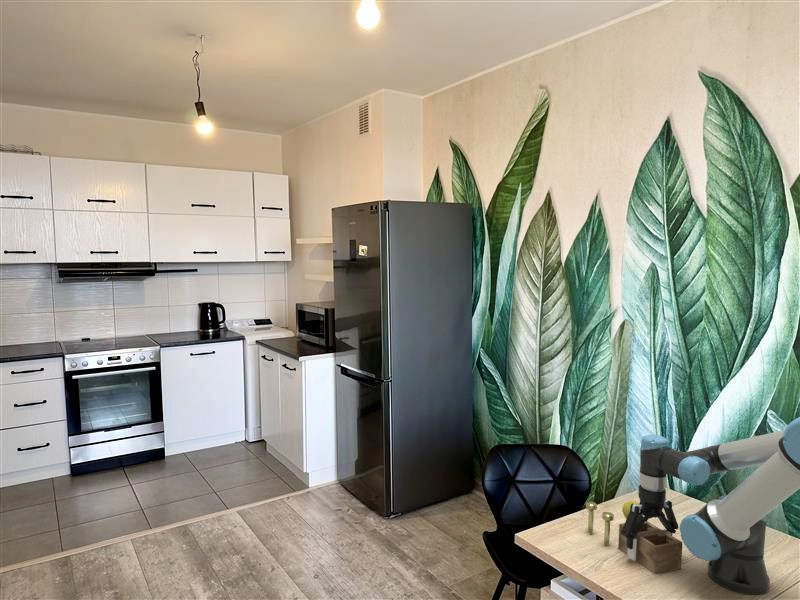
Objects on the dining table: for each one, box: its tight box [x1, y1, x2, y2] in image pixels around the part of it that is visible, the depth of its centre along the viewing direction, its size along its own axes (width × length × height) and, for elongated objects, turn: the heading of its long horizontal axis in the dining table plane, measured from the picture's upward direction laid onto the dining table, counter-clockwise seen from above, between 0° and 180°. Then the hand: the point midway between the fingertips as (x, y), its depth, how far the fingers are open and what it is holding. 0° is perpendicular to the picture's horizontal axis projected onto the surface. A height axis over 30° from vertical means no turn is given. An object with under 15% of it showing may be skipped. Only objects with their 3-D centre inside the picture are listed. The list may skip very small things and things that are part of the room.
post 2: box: [601, 511, 615, 547], centre depth 177 cm, size 3×3×10 cm
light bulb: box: [621, 500, 644, 520], centre depth 187 cm, size 7×7×10 cm
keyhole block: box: [617, 521, 684, 575], centre depth 170 cm, size 15×10×8 cm, turn 19°
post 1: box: [585, 501, 598, 535], centre depth 185 cm, size 3×3×10 cm
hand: (648, 555), depth 170 cm, fingers open, 12 cm apart
